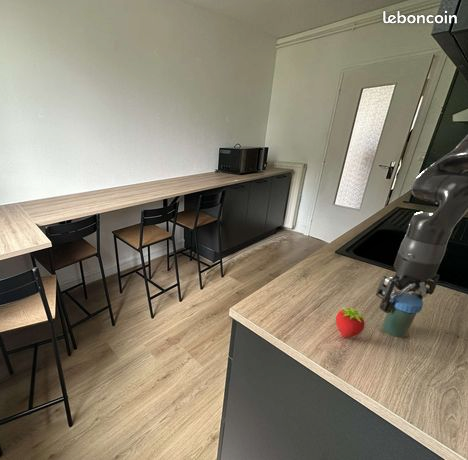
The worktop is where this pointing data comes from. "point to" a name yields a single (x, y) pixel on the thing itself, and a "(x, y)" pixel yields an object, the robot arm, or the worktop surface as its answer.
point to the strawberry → (349, 322)
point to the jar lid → (408, 303)
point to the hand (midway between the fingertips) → (398, 308)
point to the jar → (398, 322)
